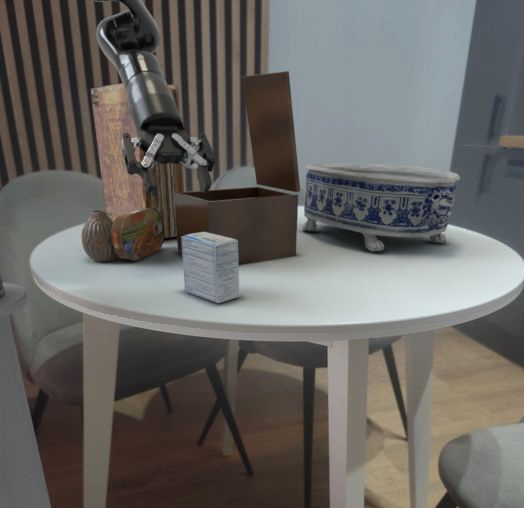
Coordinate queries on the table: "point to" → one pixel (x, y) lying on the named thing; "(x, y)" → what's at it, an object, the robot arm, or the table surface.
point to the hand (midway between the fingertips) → (181, 191)
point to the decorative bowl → (380, 200)
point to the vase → (98, 237)
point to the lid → (272, 130)
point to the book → (113, 165)
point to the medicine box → (211, 266)
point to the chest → (242, 219)
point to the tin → (138, 234)
